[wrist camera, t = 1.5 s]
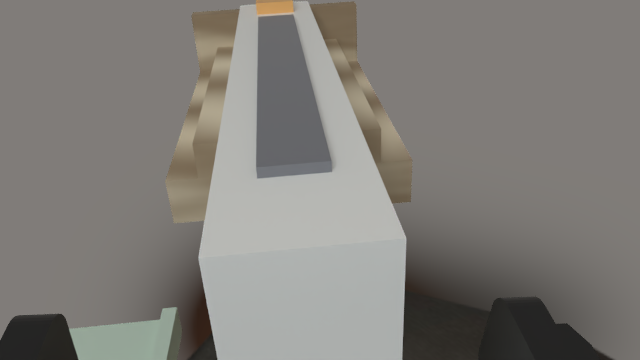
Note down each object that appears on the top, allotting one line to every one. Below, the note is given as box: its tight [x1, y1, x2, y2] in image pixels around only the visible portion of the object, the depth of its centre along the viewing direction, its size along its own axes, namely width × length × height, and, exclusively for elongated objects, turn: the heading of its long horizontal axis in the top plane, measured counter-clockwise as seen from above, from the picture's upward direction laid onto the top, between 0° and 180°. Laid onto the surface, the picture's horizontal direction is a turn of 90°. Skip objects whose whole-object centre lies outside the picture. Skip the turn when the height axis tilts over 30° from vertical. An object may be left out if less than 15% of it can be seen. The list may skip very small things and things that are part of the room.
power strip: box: [198, 0, 406, 360], centre depth 22 cm, size 25×4×5 cm, turn 6°
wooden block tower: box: [165, 2, 412, 223], centre depth 36 cm, size 16×10×36 cm, turn 6°
